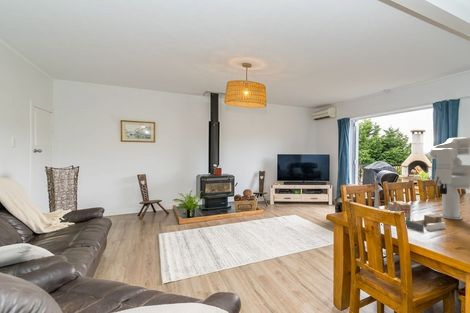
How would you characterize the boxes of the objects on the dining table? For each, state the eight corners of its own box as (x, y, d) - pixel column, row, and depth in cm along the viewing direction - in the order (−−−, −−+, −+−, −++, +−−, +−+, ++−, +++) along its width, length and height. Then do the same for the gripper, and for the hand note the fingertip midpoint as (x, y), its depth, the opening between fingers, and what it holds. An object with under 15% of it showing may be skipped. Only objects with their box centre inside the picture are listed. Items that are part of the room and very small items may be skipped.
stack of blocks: (387, 213, 188) (387, 198, 187) (396, 213, 186) (396, 198, 186) (400, 221, 167) (400, 204, 166) (410, 221, 165) (410, 204, 165)
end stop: (407, 226, 156) (407, 220, 156) (423, 230, 146) (423, 224, 146) (405, 226, 155) (406, 220, 155) (421, 231, 146) (421, 224, 146)
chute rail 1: (427, 223, 162) (427, 218, 162) (430, 223, 160) (430, 218, 160) (412, 225, 158) (412, 220, 158) (415, 226, 156) (415, 220, 156)
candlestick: (367, 218, 174) (368, 178, 173) (388, 221, 166) (388, 179, 165) (364, 222, 164) (364, 180, 163) (385, 226, 156) (386, 181, 155)
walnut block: (431, 224, 159) (431, 214, 159) (441, 227, 154) (441, 216, 154) (424, 225, 157) (424, 215, 157) (433, 228, 152) (434, 217, 152)
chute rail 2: (441, 227, 153) (441, 221, 153) (445, 228, 151) (445, 222, 151) (426, 229, 149) (426, 224, 149) (429, 230, 147) (429, 224, 147)
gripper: (445, 166, 163) (444, 192, 163) (429, 166, 159) (429, 193, 159) (457, 166, 156) (457, 194, 156) (442, 167, 152) (441, 195, 152)
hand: (443, 193), depth 158 cm, fingers closed
